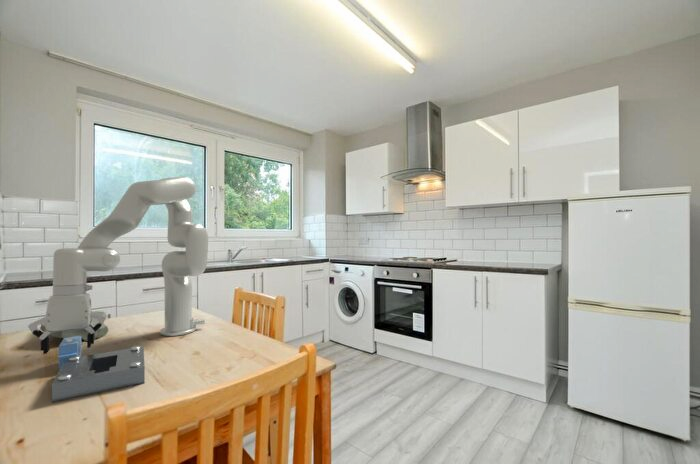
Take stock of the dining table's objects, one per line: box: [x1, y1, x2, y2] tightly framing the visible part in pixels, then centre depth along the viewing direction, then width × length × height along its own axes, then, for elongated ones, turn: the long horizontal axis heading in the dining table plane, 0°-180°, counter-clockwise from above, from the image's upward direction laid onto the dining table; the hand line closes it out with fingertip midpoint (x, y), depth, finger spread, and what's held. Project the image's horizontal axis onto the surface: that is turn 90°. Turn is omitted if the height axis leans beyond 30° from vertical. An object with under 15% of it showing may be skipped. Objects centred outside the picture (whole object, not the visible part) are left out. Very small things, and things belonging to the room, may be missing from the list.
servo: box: [57, 336, 83, 372], centre depth 96 cm, size 4×11×8 cm, turn 33°
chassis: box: [51, 345, 146, 403], centre depth 88 cm, size 18×18×5 cm
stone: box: [39, 310, 109, 342], centre depth 125 cm, size 28×8×20 cm
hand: (68, 349), depth 96 cm, fingers open, 9 cm apart
